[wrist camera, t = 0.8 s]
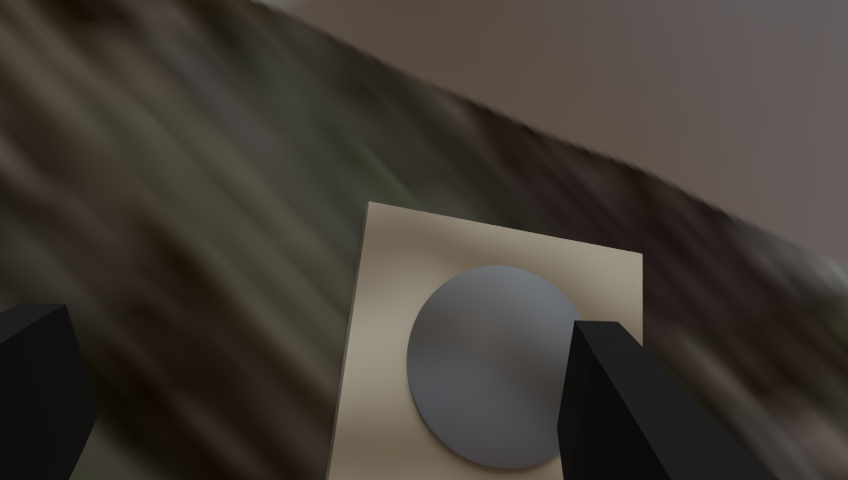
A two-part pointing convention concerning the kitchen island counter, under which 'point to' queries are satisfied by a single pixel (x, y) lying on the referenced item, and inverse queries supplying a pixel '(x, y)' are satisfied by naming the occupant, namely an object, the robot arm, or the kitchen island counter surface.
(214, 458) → the kitchen island counter surface
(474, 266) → the board
